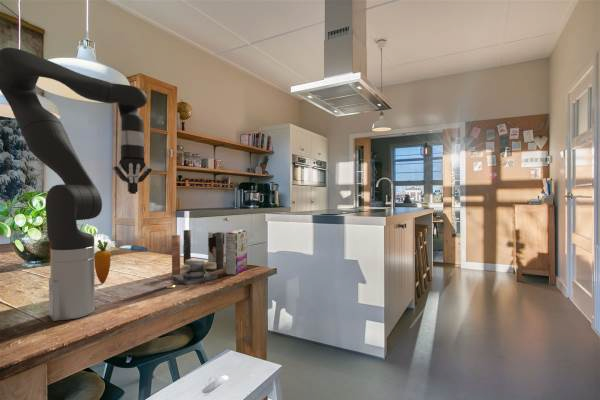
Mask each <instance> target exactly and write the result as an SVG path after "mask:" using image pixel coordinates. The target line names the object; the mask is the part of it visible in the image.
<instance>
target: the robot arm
mask: <svg viewBox="0 0 600 400" xmlns="http://www.w3.org/2000/svg"><path fill="white" fill-rule="evenodd" d="M39 78H45V79H49V80H52V81H53V80H54V81H56V82H59V83H61V84H62V85H64V86H66V87H67V88H68V89H70V90H71V91H73V92H74V93H75V94H76V95H78V96H80V97H83V98H85V99H87V100H90V101H95V102H99V103H103V104H117V107H118V112H119V115H120V119H121V125H120V126H121V129H120V131H121V133H120V160H119V163H118V164H117V165H115V166H113V167H112V170H113V172H114V173H115V174H116V175H117V176H118V178H120V180H121V181H122V182H125V183H127V192H128V193H129V194H130V195H131V194H132V195H133V194H134V195H136V194H137V193H138V190H139V189H138V188H139V185H138V184H139V183H141V182H144V181H145V180H146V178H147V177H148V175H150V173H151V172H152V170H153V169H152V168H150V167H148V166H147V164H146V161H145V145H146V143H145V135H144V129H145V128H144V119H143V118H142V116H140V115H139V109H142V108H143V107H145V106H146V105H147V103H148V96H147V94H146V91H144V90H142V89H141V88H140V87H137V86H134V85H129V84H123V83H113V82H110V81H106V80H103V79H100V78H96V77H92V76H89V75H86V74H82V73H80V72H77V71H74V70H72V69H69V68H67V67H65V66H63V65H60V64H58V63H56V62H54V61H51V60H48V59H46V58H44V57H41V56H38V55H36V54H34V53H31V52H30V51H29V52H28V51H25V50H23V49H20V48H16V47H4V48H1V49H0V92H1V93H2V95H3V97H4V98H5V100H6V102H7V103H8V105H9V107H10V109H11V111H12V113H13V116H14V118H15V120H16V122H17V124H18V128H19V129H20V133H21V134H22V137H23V139H24V142H25V143H26V145H27V147H28V149H29V151H30V152H31V153H32V155H34V156H35V157H36V158H37V159H38V160H39V161H40V162H41V163H42V164H44V165H45V166H47V167H48V168H49V169H51V170H52V171H53V172H54V173H55V174H57V176H58V177H59V178H60V179H61V180H62V181H63V183H64V184H63V183H62V184H55V185H53V186H52V187H50V188H49V189H48V191H47V193H46V196H45V203H44V204H45V205H44V208H45V219H46V220H45V221H46V233H47V237H48V240H49V244H50V277H49V278H48V301H49V302H48V305H49V306H48V310H49V311H48V312H49V313H48V314H49V317H50V319H51V320H52V321H53V322H55V321H65V320H67V321H68V320H72V319H73V320H74V319H78V318H79V319H80V318H82V317H86V316H88V315H91V314H92V313H94V312H95V308H96V306H95V304H96V300H95V299H96V297H95V293H96V292H95V284H96V283H95V279H96V278H95V259H94V255H95V236H94V235H93V234H91V233H87V232H84V231H82V230H80V229H79V228H78V222H77V221H86V220H93V219H95V218H97V217H98V216H99V215H100V214H101V212H102V208H103V200H102V197H101V193H100V192H99V190H98V188H97V186H96V184H95V183H94V182H93V181H94V180H92V178H91V177H90V175H89V174H88V172H87V171H86V169H85V167H84V166H83V164H82V162H81V160H80V158H79V156H78V155H77V153H76V150H75V149H74V147H73V145H72V143H71V139H70V138H69V136H68V134H67V131H66V129H65V128H64V127H65V126H64V124H63V123H62V122H61V120H60V119H59V118H58V117H57V116H56V115H55V114H53V113H52V112H51V111H49V110H48V109H46V108H44V106H43V105H42V103H41V101H40V100H39V96H38V94H37V91H36V88H37V87H36V85H37V84H38V80H39ZM122 170H123V171H122ZM124 172H125V173H124ZM140 173H142V174H141V175H140Z"/></svg>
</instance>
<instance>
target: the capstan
mask: <svg viewBox="0 0 600 400" xmlns="http://www.w3.org/2000/svg"><path fill="white" fill-rule="evenodd" d="M191 232H192V231H191V229H183V265H181V235H180V234H173V235H171V275H178V274H182V273H184V272H187V271H189V272H194V271H201V270H204V269H206V270H208V269H209V270H221V269H224V268H223V232H216V262H208V261H207V262H205V261H204V260H192V259H191V258H192V257H191V254H192V253H191V252H192V251H191V249H192V248H191V245H192V243H191V241H192V240H191V237H192V235H191V234H192V233H191Z"/></svg>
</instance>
